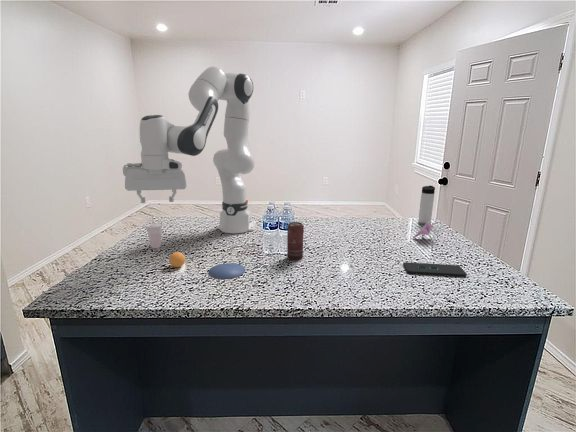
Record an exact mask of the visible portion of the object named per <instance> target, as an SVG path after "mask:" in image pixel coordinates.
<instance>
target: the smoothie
mask: <svg viewBox="0 0 576 432" xmlns="http://www.w3.org/2000/svg"><path fill="white" fill-rule="evenodd" d="M154 219H155V218H154V215H151V220H152V222H151V223H148V224H146V225H145V229H146V232H147V236H148V239H149V244H150V247H151V249H159V248H160V247H161V246H162V245H161V244H162V228H163V224H162V223H159V222H155V220H154Z"/></svg>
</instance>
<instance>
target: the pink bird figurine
mask: <svg viewBox="0 0 576 432" xmlns="http://www.w3.org/2000/svg"><path fill="white" fill-rule="evenodd" d="M437 222H438V221H436V222H433V223H431V224H430V223H429V222H427V223H426V224H425V225H423V227H422V228H421V229H420V230H418V231H417V233H416V234H415V235H414V236H413V237H412V239H416V238H417V237H418V236H421V237H422V238H423V237H424V236H425V235H426V236H429V237H430V239H431V242H432V243H434V240H433V238H432V237H431V235H430V234H431V233H430V232H431V229H434V228H435V224H437Z"/></svg>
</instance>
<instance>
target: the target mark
mask: <svg viewBox="0 0 576 432" xmlns="http://www.w3.org/2000/svg"><path fill="white" fill-rule="evenodd" d="M245 273H246V267H245V266H244V265H242V264H238V263H234V262H229V263H228V262H227V263H220V264H216V265H214V266H212V267H210V268H209V269H208V273H207V274H208V275H209V276H210V277H212V278H214V279H218V280H230V279H236V278H239V277H241V276H243V275H244V274H245Z"/></svg>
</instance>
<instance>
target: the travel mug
mask: <svg viewBox="0 0 576 432" xmlns="http://www.w3.org/2000/svg"><path fill="white" fill-rule="evenodd" d="M435 190H436V187H435V186H433V185H425V186H424V185H423V186H422V187H421V195H420V203H419V211H418V212H419V213H418V220H417V223H418V224H419V225H423V226H424V225H425V224H426V223H427V222H429V223H430V225H432V215H433V209H434V200H435Z"/></svg>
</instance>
